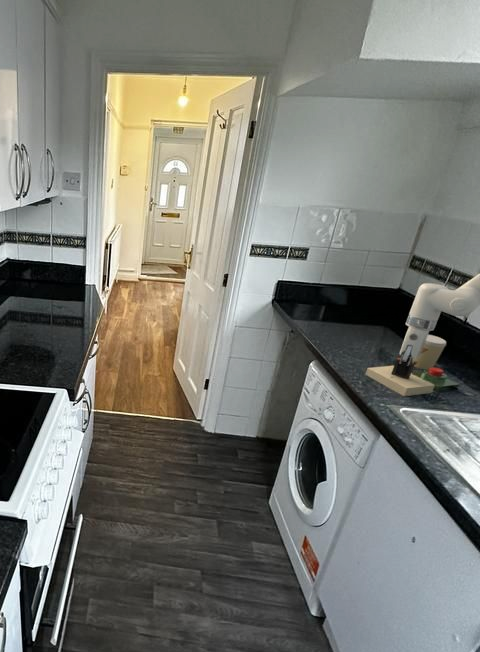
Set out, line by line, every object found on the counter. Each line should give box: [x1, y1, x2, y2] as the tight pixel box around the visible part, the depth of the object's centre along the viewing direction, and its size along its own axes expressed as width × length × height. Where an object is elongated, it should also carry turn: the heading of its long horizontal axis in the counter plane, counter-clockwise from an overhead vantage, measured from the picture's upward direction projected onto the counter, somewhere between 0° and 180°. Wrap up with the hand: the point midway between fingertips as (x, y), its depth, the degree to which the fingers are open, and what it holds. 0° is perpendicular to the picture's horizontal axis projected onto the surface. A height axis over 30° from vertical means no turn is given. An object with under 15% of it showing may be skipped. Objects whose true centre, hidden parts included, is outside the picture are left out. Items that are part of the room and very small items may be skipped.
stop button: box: [429, 366, 444, 376], centre depth 141 cm, size 4×4×2 cm
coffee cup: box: [412, 334, 447, 371], centre depth 152 cm, size 9×9×12 cm
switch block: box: [411, 369, 460, 393], centre depth 142 cm, size 11×9×4 cm
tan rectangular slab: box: [364, 365, 435, 397], centre depth 141 cm, size 15×12×3 cm
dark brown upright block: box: [391, 357, 415, 379], centre depth 139 cm, size 5×2×6 cm, turn 45°
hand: (401, 373), depth 140 cm, fingers closed on dark brown upright block, 2 cm apart
